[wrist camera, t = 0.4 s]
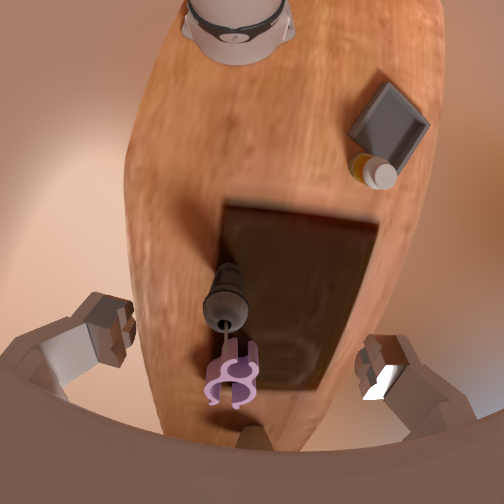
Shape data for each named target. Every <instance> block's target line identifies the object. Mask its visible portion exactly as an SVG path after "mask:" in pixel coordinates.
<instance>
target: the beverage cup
mask: <svg viewBox="0 0 504 504" xmlns="http://www.w3.org/2000/svg"><path fill="white" fill-rule="evenodd" d="M248 312H249V306H248V302H247V301H246V298H245V295H244V289H243V283H242V276H241V272H240V269H239V267H238V266H237V265H235V264H233V263H224V264H222V265H221V266H220V267H219V268H218V270H217V272H216V275H215V277H214V280H213V283H212V286H211V289H210V292H209V293H208V295H207V297H206V298H205V300H204V302H203V314H204V317H205V320H206V322H207V324H208V325H209V326H210V327H211V328H212V329H214V330H215V331H217V332H220V333H224V342H225V354H227V353H228V333H232V332H234V331H236V330H238V329H239V328H240V327H242V326H243V324H244V322H245V321H246V319H247V315H248Z"/></svg>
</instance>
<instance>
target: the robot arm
mask: <svg viewBox="0 0 504 504" xmlns="http://www.w3.org/2000/svg"><path fill="white" fill-rule="evenodd" d="M186 7H187V9H189V10H188V14H187V15H185V22H184V25H183V27H182V34H183V36H185V37H186V38H188V39H190V40H192V41H194V42H195V43H196V44H197V45H198V46H199V48H200V49H201V51H202V52H203V53H204V54H205V55H207V56H208V57H209V58H211V59H213V60H215V61H217V62H220V63H223V64H228V65H247V64H251V63H255V62H258V61H260V60H262V59H264V58H265V57H267V56H268V55H270V54H271V53H272V52H273V51H274V50H275V49H276V48H277V47H278V46H279V45H280V44H281V43H284V42H286V41H288V40H291V39H292V38H293V37H294V36H295V27H294V23H293V18H292V14H291V10H290V6H289V2H288V0H188V3H187V6H186ZM288 27H289V28H288ZM133 312H134V307H133V303H132V302H131V301H129V300H125V299H121V298H118V297H114V296H110V295H105V294H102V293H98V292H92V293H91V294H90V295H89V296H88V298H87V299H86V300H85V301H84V302H83V303H82V304H81V305H80V307H79V308H78V309H77V310H76V311H75V313H74V314H73V315H72V316H71V317H70V318H69V317H65V318H62V319H60V320H57V321H55V322H52V323H50V324H48V325H45V326H43V327H40V328H37V329H35V330H33V331H30V332H28V333H25V334H23V335H20V336H18V337H16V338H15V339H14V340H13V341H12V342H11V343H10V345H9V346H8V347H7V348H6V349H5V351H4V352H3V353H2V355H1V356H0V504H504V409H502V410H500V411H498V412H495V413H493V414H491V415H488V416H486V417H483V418H481V419H478V420H477V418H476V416H475V414H474V412H473V410H472V408H471V405H470V403H469V401H468V399H467V397H466V396H465V395H464V394H463V393H461V392H460V391H459V390H457V389H456V388H455V387H454V386H452V385H451V384H450V383H448V382H447V381H446V380H445V379H443V378H442V377H440V376H439V375H438V374H437V373H435V372H434V371H433V370H431V369H430V368H429V367H427V366H426V365H422V364H421V362H420V360H419V358H418V356H417V354H416V353H415V351H414V349H413V347H412V345H411V343H410V342H409V339H408V338H407V336H405V335H380V334H369V335H368V336H367V337H366V339H365V341H364V345H365V347H364V348H363V349H361V350H360V351H359V352H358V354H357V356H356V359H355V373H356V376H357V377H358V378H359V379H361V382H360V384H359V387H360V391H361V394H362V398H363V399H383V401H384V402H385V403H386V404H387V405H388V406H389V407H390V409H391V410H392V411H393V412H394V413H395V414H396V415H397V417H398V418H399V419H400V420H401V421H402V422H403V423H404V424H405V426H406V427H407V428H408V429H409V430H410V431H411V432H410V433H409V434H408V435H407V436H406V437H405V438H404V439H403V440H402V442H398V443H393V444H387V445H381V446H374V447H367V448H357V449H348V450H335V451H312V452H287V451H264V450H250V449H240V448H231V447H224V446H217V445H210V444H204V443H198V442H193V441H188V440H183V439H179V438H174V437H170V436H166V435H161V434H158V433H154V432H150V431H146V430H143V429H140V428H137V427H133V426H130V425H127V424H124V423H121V422H118V421H115V420H112V419H110V418H107V417H104V416H102V415H99V414H97V413H94V412H92V411H89V410H87V409H84V408H82V407H80V406H77V405H75V404H73V403H71V402H69V401H68V398H67V396H66V395H65V393H64V391H63V390H62V387H64V386H65V385H67V384H68V383H70V382H71V381H73V380H74V379H76V378H77V377H79V376H80V375H82V374H83V373H85V372H86V371H88V370H89V369H91V368H92V367H94V366H95V365H97V364H98V362H100V363H103V364H106V365H110V366H114V367H117V368H120V367H121V365H122V363H123V361H124V359H125V357H126V350H125V349H126V348H128V347H130V346H131V345H132V344H133V341H134V339H135V335H136V321H135V320H134V318H133V317H132V316H131V315H132V314H133Z"/></svg>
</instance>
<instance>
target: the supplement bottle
mask: <svg viewBox="0 0 504 504" xmlns="http://www.w3.org/2000/svg"><path fill="white" fill-rule="evenodd" d="M349 170H350V173H351V175H352V176H353V178H354V179H356V180H357V181H359V182H361V183H363V184H365V185H367V186H369V187H370V188H373V189H377V190H379V189H390V188H391V187H393V186H394V184H395V183H396V180H397V173H396V170H395V168H394V167H393V166H392V165H390V163H389V162H388V161H387V160H386V159H384V158H382V157H379V156H375V155H371V154H368V153H358V154H356V155H355V156H354V157H353V158H352V159H351V161H350V165H349Z"/></svg>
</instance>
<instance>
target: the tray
mask: <svg viewBox="0 0 504 504" xmlns="http://www.w3.org/2000/svg"><path fill="white" fill-rule="evenodd" d="M429 127H430V123H429V122H428V121H427V120H426V119H425V118H424V117H423V116H422V114H421V113H420V112H419V111H418V110H417V109H416V108H415V107H414V106H413V105H412V104H411V103H410V102H409V101H408V100H407V98H406V97H405V96H404V95H403V94H402V93H401V92H399V91H398V90H397V89H396V88H395V87H394V86H393V85H392V84H391V83H390V82H385V83H382V85H381V86H380V87H379V89H378V90H377V92H376V93H375V95H374V96H373V98H372V99H371V100H370V102H369V103H368V105H367V106H366V108H365V109H364V111H363V112H362V113H361V115H360V116H359V118H358V119H357V121H356V122H355V123H354V125H353V126H352V128H351V129H350V131H349V132H348V133H347V135H348V136H350V137H351V138H352V139H353V140H354V141H356V142H357V143H358V144H359V145H360V146H362V147H363V148H364V149H365V150H366V151H367V152H369V153H370V154H371V155H375V156H379V157H382V158H384V159H386V160H387V161H388V162H389V163H390V165H392V166H393V167H394V168H395V170H396V173H397V176H398V175H399V174H400V172H401V171H402V169H403V168H404V166H405V165H406V163H407V162H408V160H409V159H410V157H411V155H412V154H413V152H414V151H415V149H416V148H417V146H418V145H419V143H420V141H421V140H422V138H423V137H424V135H425V133H426V132H427V130H428V128H429Z"/></svg>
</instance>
